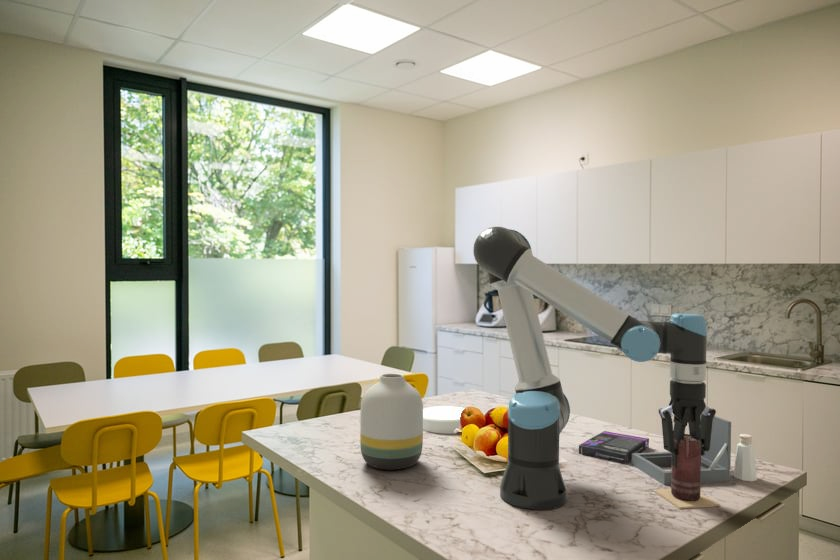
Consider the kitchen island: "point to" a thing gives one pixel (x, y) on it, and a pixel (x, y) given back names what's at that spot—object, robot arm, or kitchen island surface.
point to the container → (441, 419)
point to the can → (687, 470)
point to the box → (614, 446)
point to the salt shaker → (745, 460)
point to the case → (712, 461)
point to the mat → (681, 504)
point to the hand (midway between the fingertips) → (686, 481)
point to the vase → (391, 424)
